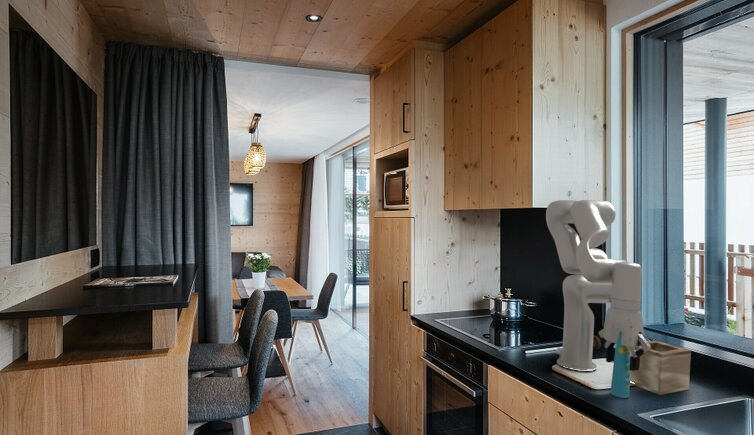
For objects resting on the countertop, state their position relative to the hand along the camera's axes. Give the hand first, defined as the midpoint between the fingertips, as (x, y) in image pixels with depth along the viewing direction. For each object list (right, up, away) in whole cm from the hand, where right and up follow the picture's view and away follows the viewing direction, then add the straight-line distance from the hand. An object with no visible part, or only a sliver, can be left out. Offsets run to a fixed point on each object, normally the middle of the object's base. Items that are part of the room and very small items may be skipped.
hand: (622, 365), depth 140 cm
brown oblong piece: (+8, -9, +47) cm, 48 cm away
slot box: (+16, -9, +10) cm, 21 cm away
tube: (0, -9, 0) cm, 9 cm away
